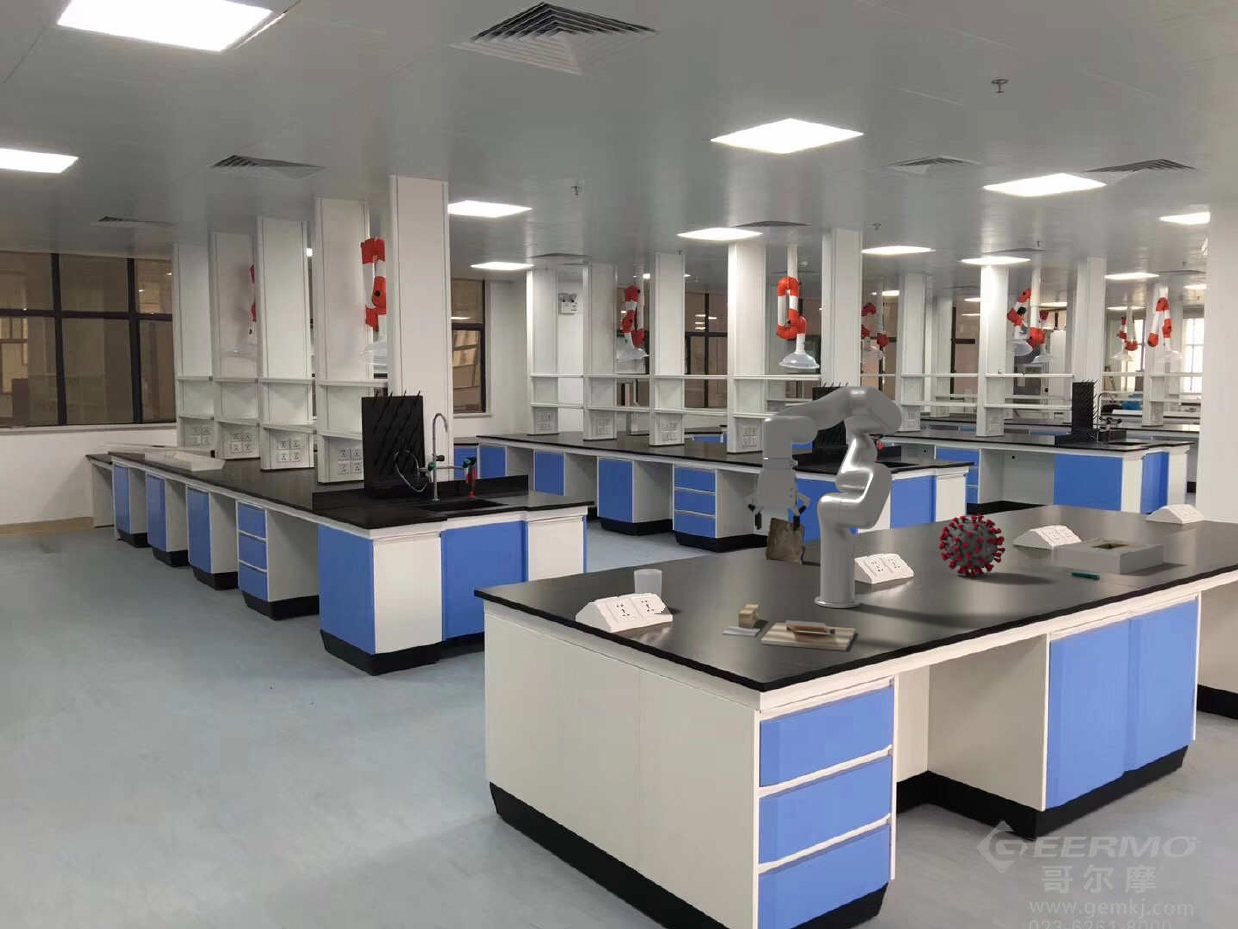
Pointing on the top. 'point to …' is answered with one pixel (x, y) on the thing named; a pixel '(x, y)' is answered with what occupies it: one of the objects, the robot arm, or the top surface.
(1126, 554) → the box
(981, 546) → the virus model
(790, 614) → the top surface
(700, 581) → the top surface
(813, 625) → the tile
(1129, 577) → the top surface
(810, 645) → the board
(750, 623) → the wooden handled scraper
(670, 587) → the top surface
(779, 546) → the mineral sample
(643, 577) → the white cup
